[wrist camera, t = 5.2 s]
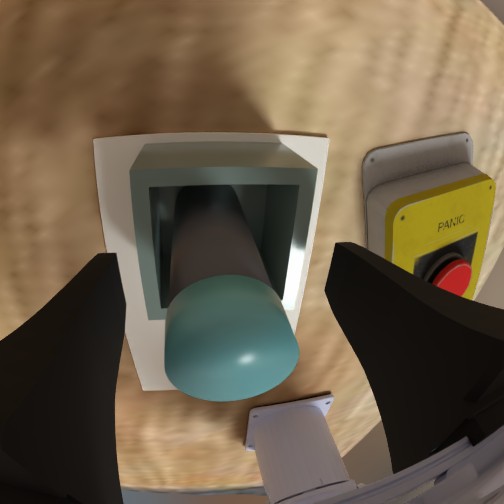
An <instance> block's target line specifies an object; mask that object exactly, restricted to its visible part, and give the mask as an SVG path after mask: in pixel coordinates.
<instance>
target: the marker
mask: <svg viewBox="0 0 504 504" xmlns="http://www.w3.org/2000/svg"><path fill="white" fill-rule="evenodd" d="M298 359H299V347H298V343H297V340H296V338H295V335H294V333H293V330H292V328H291V325H290V322H289V320H288V317H287V315H286V312H285V310H284V307H283V304H282V302H281V300H280V298H279V296H278V295H277V293H276V292H275V291H274V290H273V289H272V286H271V283H270V281H269V278H268V275H267V273H266V270H265V268H264V265H263V262H262V260H261V257H260V254H259V252H258V249H257V246H256V244H255V241H254V238H253V236H252V233H251V231H250V228H249V225H248V223H247V220H246V217H245V215H244V212H243V210H242V207H241V204H240V202H239V199H238V196H237V194H236V192H235V191H234V189H233V188H232V187H231V186H230V185H188V186H184V187H183V188H182V189H181V191H180V192H179V194H178V196H177V198H176V202H175V211H174V223H173V237H172V252H171V271H170V296H169V307H168V309H167V312H166V317H165V346H164V367H165V373H166V375H167V378H168V379H169V381H170V382H171V383H172V384H173V386H175V387H176V388H177V389H178V390H180V391H181V392H183V393H185V394H187V395H189V396H192V397H195V398H198V399H202V400H208V401H236V400H242V399H247V398H250V397H254V396H257V395H260V394H262V393H264V392H267V391H269V390H270V389H272V388H274V387H276V386H277V385H279V384H280V383H281V382H283V381H284V380H285V379H286V378H287V377H288V376H289V375H290V374H291V372H292V371H293V370H294V368H295V366H296V365H297V362H298Z"/></svg>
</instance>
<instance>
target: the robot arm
mask: <svg viewBox="0 0 504 504" xmlns="http://www.w3.org/2000/svg"><path fill="white" fill-rule="evenodd" d="M324 291H325V293H326V296H327V299H328V302H329V304H330V307H331V309H332V312H333V314H334V316H335V318H336V320H337V321H338V323H339V325H340V327H341V329H342V330H343V332H344V334H345V336H346V338H347V339H348V341H349V343H350V345H351V346H352V348H353V350H354V352H355V354H356V355H357V357H358V359H359V361H360V363H361V365H362V367H363V369H364V371H365V373H366V376H367V379H368V381H369V384H370V386H371V389H372V391H373V394H374V397H375V400H376V403H377V406H378V409H379V412H380V415H381V419H382V422H383V426H384V430H385V434H386V437H387V442H388V447H389V452H390V457H391V463H392V470H393V473H394V474H393V475H391V476H389V477H386V478H384V479H382V480H379V481H377V482H374V483H372V484H369V485H365V484H362V483H361V484H359V485H356V484H355V481H354V480H350V478H349V476H348V473H347V471H346V468H345V466H344V463H343V461H342V458H341V456H340V454H339V451H338V449H337V446H336V444H335V441H334V439H333V436H332V434H331V432H330V429H329V427H328V424H327V422H326V419H325V416H326V414H327V412H328V410H329V408H330V406H331V404H332V402H333V400H334V396H333V395H332V394H329V395H324V396H320V397H315V398H310V399H305V400H300V401H294V402H289V403H283V404H277V405H271V406H264V407H257V408H253V409H251V410H250V413H249V421H248V428H247V436H246V443H245V450H246V451H252V450H255V453H256V457H257V460H258V464H259V468H260V472H261V476H262V480H263V483H264V487H265V491H266V493H267V495H268V497H269V498H270V502H271V504H386V503H389V502H391V501H393V500H395V499H398V498H400V497H402V496H404V495H406V494H407V493H410V492H412V491H414V490H416V489H418V488H420V487H422V486H423V485H425V484H427V483H429V482H431V481H433V480H434V479H436V480H435V482H434V486H433V487H431V488H430V489H428V490H426V491H425V492H423V493H421V494H419V495H418V496H416V497H415V498H413V499H412V500H410V501H408V502H407V503H405V504H504V310H503V309H499V308H495V307H491V306H488V305H485V304H481V303H478V302H475V301H473V300H470V299H467V298H464V297H461V296H459V295H456V294H454V293H451V292H449V291H447V290H444V289H442V288H440V287H437V286H435V285H433V284H431V283H429V282H427V281H425V280H423V279H421V278H419V277H417V276H415V275H413V274H411V273H410V272H408V271H406V270H404V269H402V268H400V267H399V266H397V265H395V264H393V263H391V262H390V261H388V260H386V259H384V258H382V257H381V256H379V255H377V254H375V253H373V252H371V251H369V250H367V249H366V248H364V247H361V246H359V245H357V244H355V243H352V242H340V243H335V247H334V252H333V256H332V261H331V265H330V269H329V274H328V278H327V282H326V286H325V290H324ZM125 321H126V300H125V295H124V290H123V285H122V280H121V275H120V270H119V264H118V259H117V253H98V254H97V255H96V256H95V257H94V258H93V259H92V260H91V261H90V262H88V263H87V264H86V265H85V266H84V267H83V268H82V270H81V271H80V272H79V273H78V274H77V275H76V276H75V277H74V278H73V279H72V280H71V281H70V282H69V283H68V284H67V285H66V286H65V287H64V288H63V289H62V290H60V291H59V292H58V293H57V294H56V295H55V296H54V297H53V298H52V299H51V300H50V301H49V302H48V303H47V304H46V305H45V306H44V307H43V308H41V309H40V310H39V311H38V312H37V313H36V314H35V315H33V316H32V317H31V318H30V319H29V320H27V321H26V322H25V323H24V324H22V325H21V326H20V327H19V328H17V329H16V330H15V331H13V332H12V333H11V334H9V335H8V336H6V337H5V338H4V339H2V340H1V341H0V504H123V499H122V493H121V487H120V480H119V472H118V463H117V453H116V437H115V392H116V383H117V376H118V370H119V363H120V357H121V351H122V345H123V339H124V333H125Z"/></svg>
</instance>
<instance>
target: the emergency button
mask: <svg viewBox="0 0 504 504" xmlns="http://www.w3.org/2000/svg"><path fill="white" fill-rule="evenodd" d="M362 179H363V192H364V208H365V229H366V249H367V250H369V251H371V252H373V253H375V254H377V255H379V256H381V257H382V258H384V259H386V260H388V261H390V262H391V263H393V264H395V265H397V266H399V267H400V268H402V269H404V270H406V271H408V272H410V273H411V274H413V275H415V276H417V277H419V278H421V279H423V280H425V281H427V282H429V283H431V284H433V285H435V286H437V287H440V288H442V289H444V290H447V291H449V292H451V293H454V294H456V295H459V296H461V297H464V298H467V299H470V300H472V298H473V295H474V292H475V289H476V285H477V281H478V278H479V274H480V270H481V266H482V262H483V258H484V253H485V249H486V244H487V240H488V235H489V229H490V224H491V218H492V212H493V205H494V198H495V190H496V185H495V182H494V180H493V179H492V178H490V177H489V176H488V175H487V174H484V173H483V172H481V171H480V170H478V169H477V168H475V167H474V166H473V140H472V138H471V136H470V135H469V134H467V133H457V134H451V135H445V136H440V137H434V138H428V139H423V140H418V141H412V142H407V143H402V144H397V145H392V146H388V147H383V148H378V149H374V150H373V151H371V152H369V153H368V154H367V156H366V158H365V159H364V161H363V167H362Z"/></svg>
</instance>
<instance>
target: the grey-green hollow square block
mask: <svg viewBox="0 0 504 504" xmlns="http://www.w3.org/2000/svg"><path fill="white" fill-rule="evenodd" d="M317 172H318V169H317V168H316V167H315V166H313V165H312V164H311V163H309V162H308V161H307V160H305V159H304V158H302V157H301V156H300V155H298V154H297V153H295V152H294V151H293V150H291V149H290V148H288V147H287V146H285V145H284V144H283V143H270V142H233V141H204V142H167V143H147V144H144V146H143V148H142V149H141V151H140V153H139V154H138V156H137V158H136V159H135V161H134V163H133V165H132V166H131V168H130V170H129V174H130V188H131V200H132V211H133V221H134V230H135V238H136V246H137V254H138V261H139V268H140V275H141V281H142V287H143V293H144V299H145V305H146V310H147V316H148V320H165V317H166V312H167V309H168V307H169V296H170V271H171V252H172V237H173V223H174V211H175V202H176V198H177V196H178V194H179V192H180V191H181V189H182V188H183V187H184V186H188V185H230V186H231V187H232V188H233V189H234V191H235V192H236V194H237V196H238V199H239V202H240V204H241V207H242V210H243V212H244V215H245V217H246V220H247V223H248V225H249V228H250V231H251V233H252V236H253V238H254V241H255V244H256V246H257V249H258V252H259V254H260V257H261V260H262V262H263V265H264V268H265V270H266V273H267V275H268V278H269V281H270V283H271V286H272V289H273V290H274V291H275V292H276V293H277V295H278V296H279V298H280V300H281V302H282V304H283V307H284V310H285V311H286V310H294V308H295V303H296V298H297V292H298V287H299V282H300V277H301V271H302V266H303V260H304V254H305V249H306V243H307V237H308V231H309V225H310V219H311V212H312V206H313V200H314V193H315V186H316V179H317Z"/></svg>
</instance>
